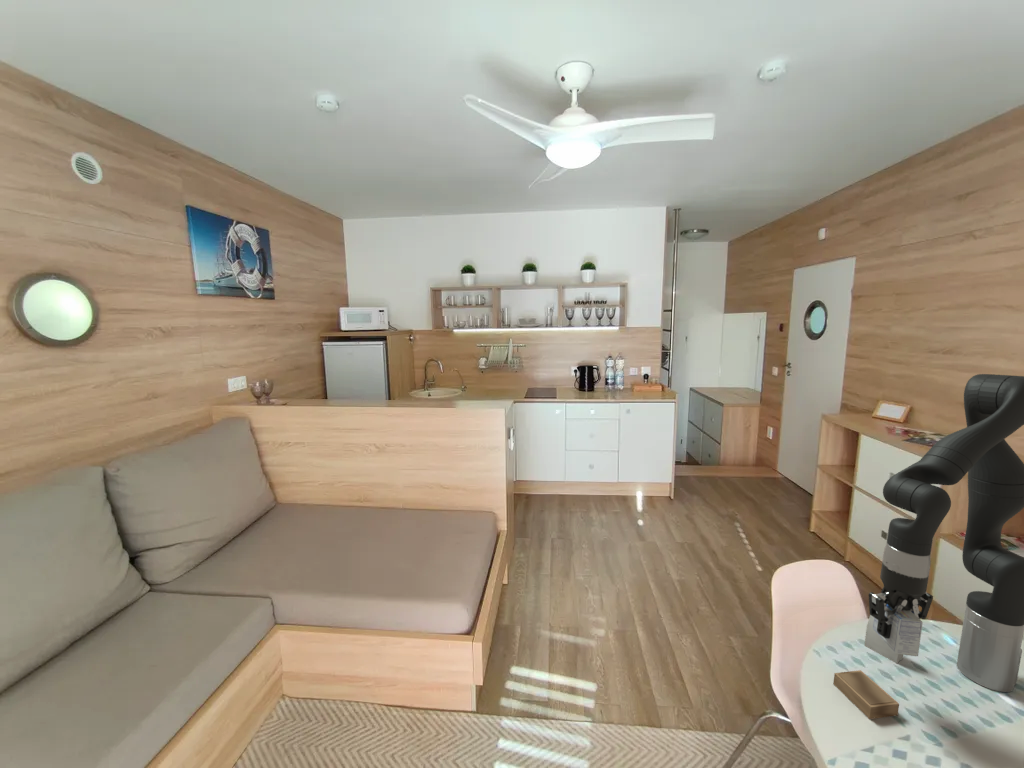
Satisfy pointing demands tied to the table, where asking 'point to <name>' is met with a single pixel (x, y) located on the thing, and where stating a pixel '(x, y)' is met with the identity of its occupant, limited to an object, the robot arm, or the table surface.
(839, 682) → the brown flat rectangular block
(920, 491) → the robot arm
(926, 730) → the table surface
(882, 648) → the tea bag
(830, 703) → the table surface
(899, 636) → the medicine box
